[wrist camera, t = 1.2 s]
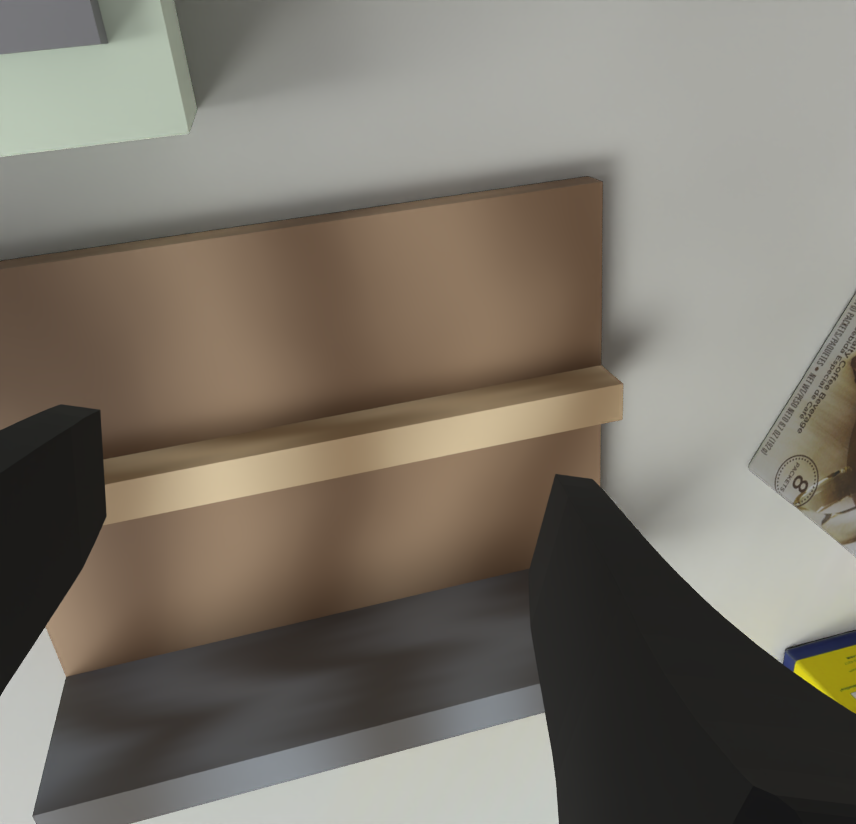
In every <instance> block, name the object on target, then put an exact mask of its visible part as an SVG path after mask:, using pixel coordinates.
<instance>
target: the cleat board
mask: <svg viewBox="0 0 856 824" xmlns="http://www.w3.org/2000/svg"><path fill="white" fill-rule="evenodd" d="M602 210H603V182H602V181H600V180H597V179H594V178H591V177H589V176H586V177H579V178H572V179H565V180H558V181H551V182H544V183H538V184H531V185H524V186H517V187H510V188H503V189H496V190H489V191H482V192H475V193H468V194H461V195H454V196H447V197H440V198H433V199H426V200H420V201H413V202H406V203H399V204H392V205H385V206H378V207H371V208H364V209H357V210H350V211H343V212H336V213H329V214H322V215H315V216H309V217H302V218H295V219H288V220H281V221H274V222H267V223H260V224H253V225H246V226H239V227H232V228H225V229H218V230H211V231H204V232H198V233H191V234H184V235H177V236H170V237H163V238H156V239H149V240H142V241H135V242H128V243H121V244H114V245H107V246H100V247H93V248H86V249H80V250H73V251H66V252H59V253H52V254H45V255H38V256H31V257H24V258H17V259H10V260H3V261H0V430H2V429H4V428H6V427H8V426H10V425H13V424H15V423H17V422H19V421H21V420H23V419H26V418H28V417H30V416H32V415H35V414H37V413H39V412H42V411H44V410H46V409H49V408H52V407H54V406H57V405H60V404H63V405H70V406H78V407H85V408H92V409H99V410H100V411H101V428H102V445H103V462H104V479H105V496H106V513H107V517H106V519H105V521H104V524H103V526H102V528H101V530H100V533H99V535H98V537H97V539H96V542H95V544H94V546H93V548H92V550H91V552H90V554H89V556H88V558H87V561H86V563H85V565H84V567H83V569H82V571H81V572H80V574H79V575H78V577H77V579H76V580H75V582H74V583H73V585H72V586H71V588H70V590H69V591H68V593H67V594H66V596H65V597H64V599H63V600H62V602H61V604H60V605H59V607H58V608H57V610H56V611H55V613H54V614H53V616H52V617H51V619H50V620H49V622H48V623H47V625H46V629H47V631H48V633H49V636H50V638H51V641H52V643H53V646H54V648H55V651H56V653H57V656H58V658H59V660H60V663H61V665H62V668H63V670H64V673H65V675H66V680H65V684H64V688H63V692H62V696H61V700H60V704H59V708H58V713H57V717H56V721H55V725H54V729H53V733H52V737H51V741H50V746H49V750H48V754H47V758H46V762H45V766H44V770H43V774H42V779H41V783H40V787H39V791H38V795H37V799H36V803H35V808H34V812H33V818H34V820H35V822H36V824H131V823H134V822H138V821H142V820H146V819H149V818H153V817H157V816H161V815H164V814H168V813H172V812H175V811H179V810H183V809H187V808H190V807H194V806H198V805H202V804H205V803H209V802H213V801H216V800H220V799H224V798H228V797H231V796H235V795H239V794H243V793H246V792H250V791H254V790H257V789H261V788H265V787H269V786H272V785H276V784H280V783H283V782H287V781H291V780H295V779H298V778H302V777H306V776H310V775H313V774H317V773H321V772H324V771H328V770H332V769H336V768H339V767H343V766H347V765H351V764H354V763H358V762H362V761H365V760H369V759H373V758H377V757H380V756H384V755H388V754H392V753H395V752H399V751H403V750H406V749H410V748H414V747H418V746H421V745H425V744H429V743H432V742H436V741H440V740H444V739H447V738H451V737H455V736H459V735H462V734H466V733H470V732H473V731H477V730H481V729H485V728H488V727H492V726H496V725H500V724H503V723H507V722H511V721H514V720H518V719H522V718H526V717H529V716H533V715H537V714H541V713H544V712H545V709H544V704H543V698H542V692H541V687H540V681H539V676H538V670H537V664H536V658H535V652H534V647H533V641H532V634H531V628H530V608H529V577H528V572H529V569H530V565H531V561H532V558H533V554H534V550H535V547H536V543H537V539H538V536H539V532H540V528H541V525H542V521H543V517H544V514H545V510H546V506H547V503H548V499H549V495H550V492H551V488H552V484H553V481H554V477H555V474H561V475H568V476H575V477H582V478H589V479H593V480H594V481H595V482H596V483H597V484H598V485H599V486H600V459H601V424H604V423H609V422H614V421H619V420H622V416H623V383H622V382H621V381H619V380H618V379H617V378H616V377H615V376H614V375H612V374H611V373H610V372H609V371H608V370H606V369H605V368H604V367H603V366H602V365H601V334H602Z"/></svg>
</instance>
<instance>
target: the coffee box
mask: <svg viewBox="0 0 856 824" xmlns="http://www.w3.org/2000/svg"><path fill="white" fill-rule="evenodd" d="M748 468H749V470H750V471H751V472H752V473H753V474H754V475H756V476H757V477H758V478H760V479H761V480H762V481H763V482H764V483H766V484H767V485H768V486H769V487H771V488H772V489H773V490H774V491H776V492H777V493H778V494H779V495H781V496H782V497H783V498H784V499H786V500H787V501H788V502H789V503H791V504H792V505H793V506H795V507H796V508H797V509H799V510H800V511H801V512H802V513H803V514H804V515H805V516H807V517H808V518H809V519H810V520H812V521H813V522H814V523H815V524H816V525H818V526H819V527H820V528H821V529H822V530H824V531H825V532H826V533H827V534H829V535H830V536H831V537H832V538H833V539H835V540H836V541H837V542H838V543H839V544H840V545H842V546H843V547H844V548H845V549H847V550H848V551H849V552H850V553H851V554H853V555H854V556H855V557H856V294H855V295H854V297H853V298H852V300H851V302H850V303H849V305H848V307H847V308H846V310H845V311H844V313H843V315H842V316H841V318H840V319H839V321H838V323H837V324H836V326H835V327H834V329H833V331H832V332H831V334H830V335H829V337H828V338H827V340H826V342H825V343H824V345H823V347H822V348H821V350H820V351H819V353H818V355H817V356H816V358H815V360H814V361H813V363H812V364H811V366H810V368H809V369H808V371H807V373H806V374H805V376H804V377H803V379H802V381H801V382H800V384H799V385H798V387H797V389H796V390H795V392H794V393H793V395H792V397H791V398H790V400H789V401H788V403H787V405H786V406H785V408H784V409H783V411H782V413H781V414H780V416H779V417H778V419H777V421H776V422H775V424H774V425H773V427H772V429H771V430H770V432H769V433H768V435H767V437H766V438H765V440H764V441H763V443H762V445H761V446H760V448H759V449H758V451H757V453H756V454H755V456H754V457H753V459H752V461H751V462H750V464H749V467H748Z"/></svg>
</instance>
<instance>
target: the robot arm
mask: <svg viewBox="0 0 856 824" xmlns="http://www.w3.org/2000/svg"><path fill="white" fill-rule="evenodd" d="M106 517H107V513H106V496H105V479H104V462H103V445H102V428H101V411H100V410H99V409H92V408H85V407H78V406H70V405H63V404H60V405H57V406H54V407H52V408H49V409H46V410H44V411H42V412H39V413H37V414H35V415H32V416H30V417H28V418H26V419H23V420H21V421H19V422H17V423H15V424H13V425H10V426H8V427H6V428H4V429H2V430H0V696H1V694H2V692H3V691H4V689H5V687H6V686H7V684H8V683H9V681H10V680H11V678H12V677H13V675H14V674H15V672H16V671H17V669H18V667H19V666H20V664H21V663H22V661H23V660H24V658H25V657H26V655H27V654H28V652H29V651H30V649H31V648H32V646H33V645H34V643H35V642H36V640H37V639H38V637H39V636H40V634H41V633H42V631H43V629H44V628H45V626H46V625H47V623H48V622H49V620H50V619H51V617H52V616H53V614H54V613H55V611H56V610H57V608H58V607H59V605H60V604H61V602H62V600H63V599H64V597H65V596H66V594H67V593H68V591H69V590H70V588H71V586H72V585H73V583H74V582H75V580H76V579H77V577H78V575H79V574H80V572H81V571H82V569H83V567H84V565H85V563H86V561H87V558H88V556H89V554H90V552H91V550H92V548H93V546H94V544H95V542H96V539H97V537H98V535H99V533H100V530H101V528H102V526H103V524H104V521H105V519H106ZM528 577H529V608H530V628H531V634H532V641H533V647H534V652H535V658H536V664H537V670H538V676H539V681H540V687H541V692H542V698H543V704H544V709H545V715H546V721H547V726H548V732H549V737H550V743H551V749H552V755H553V762H554V770H555V778H556V787H557V801H558V816H559V824H856V714H855V713H854V712H852V711H850V710H849V709H847V708H846V707H844V706H843V705H841V704H840V703H838V702H836V701H835V700H833V699H832V698H830V697H829V696H827V695H826V694H824V693H823V692H821V691H820V690H818V689H817V688H815V687H814V686H813V685H811V684H810V683H808V682H807V681H805V680H804V679H803V678H801V677H800V676H798V675H797V674H796V673H794V672H793V671H791V670H790V669H789V668H787V667H786V666H784V665H783V664H782V663H780V662H779V661H777V660H776V659H775V658H774V657H772V656H771V655H770V654H768V653H767V652H766V651H764V650H763V649H762V648H760V647H759V646H758V645H757V644H755V643H754V642H753V641H752V640H751V639H749V638H748V637H747V636H746V635H745V634H743V633H742V632H741V631H740V630H739V629H737V628H736V627H735V626H734V625H733V624H731V623H730V622H729V621H728V620H727V619H725V618H724V617H723V616H722V615H721V614H720V613H719V612H718V611H716V610H715V609H714V608H713V607H712V606H711V605H710V604H709V603H708V602H706V601H705V600H704V599H703V598H702V597H701V596H700V595H699V594H698V593H697V592H696V591H695V590H694V589H693V588H692V587H691V586H690V585H689V584H688V583H687V582H686V581H685V580H684V579H683V578H682V577H681V576H680V575H679V574H678V573H677V572H676V571H675V570H674V569H673V568H672V567H671V566H670V565H669V564H668V563H667V562H666V561H665V560H664V559H663V558H662V556H661V555H660V554H659V553H658V552H657V551H656V550H655V549H654V548H653V547H652V546H651V544H650V543H649V542H648V541H647V540H646V539H645V538H644V537H643V536H642V534H641V533H640V532H639V531H638V530H637V529H636V528H635V526H634V525H633V524H632V523H631V522H630V521H629V519H628V518H627V517H626V516H625V515H624V514H623V513H622V511H621V510H620V509H619V508H618V507H617V506H616V504H615V503H614V502H613V501H612V500H611V499H610V497H609V496H608V495H607V494H606V493H605V492H604V490H603V489H602V488H601V487H600V486H599V485H598V484H597V483H596V482H595V481H594V480H593V479H589V478H582V477H575V476H568V475H561V474H555V477H554V481H553V484H552V488H551V492H550V495H549V499H548V503H547V506H546V510H545V514H544V517H543V521H542V525H541V528H540V532H539V536H538V539H537V543H536V547H535V550H534V554H533V558H532V561H531V565H530V569H529V572H528Z"/></svg>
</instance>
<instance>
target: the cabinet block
mask: <svg viewBox="0 0 856 824" xmlns="http://www.w3.org/2000/svg"><path fill="white" fill-rule="evenodd" d="M196 112H197V106H196V102H195V97H194V92H193V87H192V83H191V78H190V73H189V69H188V64H187V59H186V54H185V50H184V45H183V40H182V35H181V31H180V26H179V21H178V17H177V12H176V7H175V2H174V0H0V157H5V156H13V155H21V154H29V153H37V152H46V151H54V150H62V149H70V148H78V147H86V146H94V145H103V144H111V143H119V142H127V141H135V140H143V139H152V138H160V137H168V136H176V135H184V134H189V133H190V130H191V127H192V124H193V121H194V118H195V115H196Z"/></svg>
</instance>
